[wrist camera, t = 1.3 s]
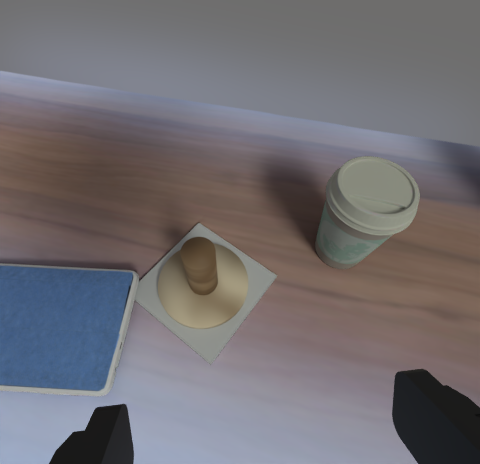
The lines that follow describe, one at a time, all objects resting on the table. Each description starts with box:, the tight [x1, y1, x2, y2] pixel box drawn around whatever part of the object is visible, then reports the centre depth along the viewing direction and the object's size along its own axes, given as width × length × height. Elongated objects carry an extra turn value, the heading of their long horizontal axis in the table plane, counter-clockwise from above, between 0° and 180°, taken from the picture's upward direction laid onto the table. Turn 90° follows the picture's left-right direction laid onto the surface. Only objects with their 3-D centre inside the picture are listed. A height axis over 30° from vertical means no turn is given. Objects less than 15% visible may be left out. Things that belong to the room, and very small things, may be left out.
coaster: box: [135, 223, 277, 365], centre depth 34 cm, size 12×12×1 cm
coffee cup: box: [315, 156, 420, 269], centre depth 33 cm, size 8×9×12 cm
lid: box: [158, 237, 248, 329], centre depth 31 cm, size 10×10×8 cm
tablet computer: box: [0, 263, 139, 397], centre depth 31 cm, size 19×13×1 cm, turn 87°
